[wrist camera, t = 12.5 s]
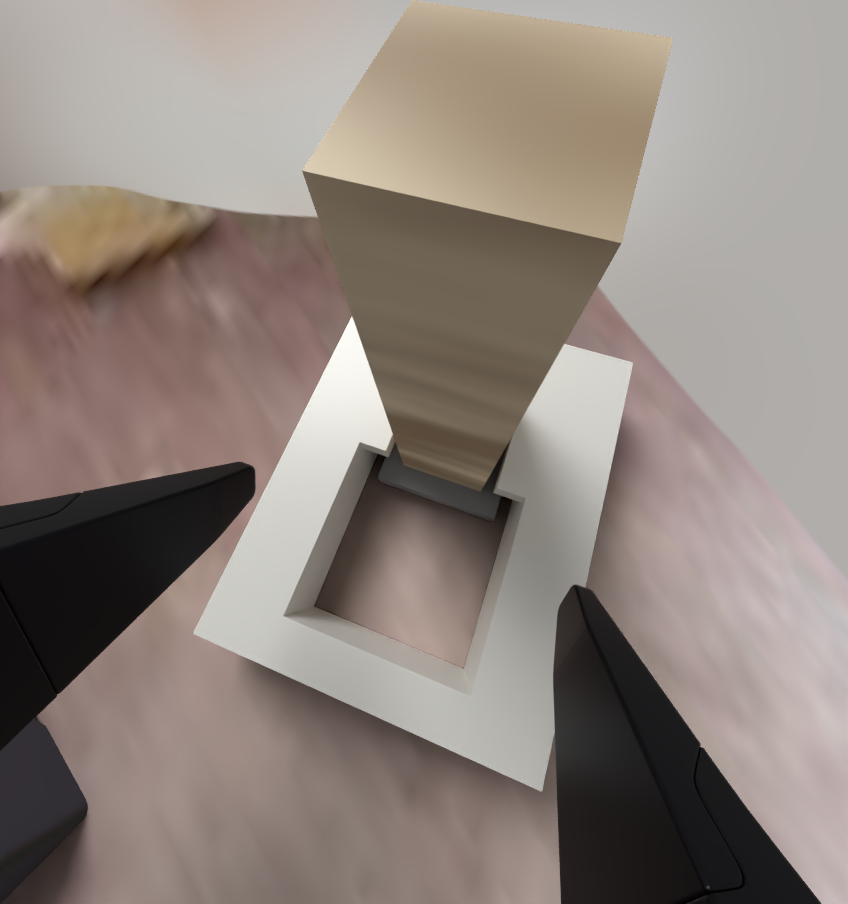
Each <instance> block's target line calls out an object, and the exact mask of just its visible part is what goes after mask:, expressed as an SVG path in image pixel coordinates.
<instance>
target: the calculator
mask: <svg viewBox="0 0 848 904" xmlns="http://www.w3.org/2000/svg"><path fill="white" fill-rule="evenodd" d="M87 809H88V805H87V802H86V799H85V797H84V795H83V793H82V792H81V790H80V788H79V786H78V784H77V782H76V781H75V779H74V777H73V775H72V773H71V771H70V770H69V768H68V766H67V764H66V762H65V760H64V759H63V757H62V755H61V753H60V751H59V749H58V748H57V746H56V744H55V742H54V740H53V738H52V736H51V735H50V733H49V731H48V729H47V728H46V726H45V725H43V724H41V723H39V722H38V721H36V719H35V718H34V719H33V720H32V721H31V722H30V723H29V724H28V725H27V726H26V727H25V728H24V729H23V730H22V731H21V732H20V733H19V734H18V735H17V736H16V737H15V738H14V739H13V740H12V741H11V742H10V743H9V744H8V745H6V746H5V747H4V748H3V749H2V750H1V751H0V903H1V902H2V901H3V900H4V899H5V898H6V897H7V896H8V895H9V894H10V893H11V892H12V891H13V890H14V889H15V888H16V887H17V886H18V885H19V884H20V883H21V882H22V881H23V880H24V879H25V878H26V877H27V876H28V875H29V874H30V873H31V872H32V871H33V870H34V869H35V868H36V867H37V866H38V865H39V864H40V863H41V862H42V861H43V860H44V859H45V858H46V857H47V856H48V855H49V854H50V853H51V852H52V851H53V850H54V849H55V848H56V847H57V846H58V845H59V844H60V843H61V842H62V841H63V840H64V839H65V838H66V837H67V836H68V835H69V834H70V833H71V832H72V831H73V830H74V829H75V828H76V827H77V826H78V824H79V823H80V822H81V821H82V820H83V819H84V817H85V816H86V813H87Z"/></svg>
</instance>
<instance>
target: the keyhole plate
mask: <svg viewBox="0 0 848 904" xmlns="http://www.w3.org/2000/svg"><path fill="white" fill-rule="evenodd" d="M632 366H633V363H632V362H629V361H625V360H621V359H618V358H614V357H610V356H607V355H603V354H599V353H596V352H592V351H588V350H585V349H581V348H577V347H574V346H570V345H566V344H564V345H563V347H562V349H561V351H560V352H559V354H558V356H557V358H556V359H555V361H554V363H553V365H552V366H551V368H550V370H549V372H548V374H547V375H546V377H545V379H544V381H543V382H542V384H541V386H540V388H539V389H538V391H537V393H536V395H535V396H534V398H533V400H532V402H531V404H530V405H529V407H528V409H527V411H526V412H525V414H524V416H523V418H522V419H521V421H520V423H519V425H518V426H517V428H516V430H515V432H514V434H513V435H512V437H511V439H510V441H509V442H508V446H507V449H506V452H505V455H504V459H503V462H502V465H501V468H500V472H499V475H498V478H497V481H496V485H495V488H494V491H493V493H495V494H498V495H500V496H503V497H506V498H509V499H512V504H511V507H510V511H509V514H508V518H507V521H506V525H505V528H504V532H503V535H502V538H501V542H500V545H499V549H498V552H497V556H496V559H495V563H494V566H493V570H492V573H491V576H490V580H489V583H488V587H487V590H486V594H485V597H484V601H483V604H482V608H481V611H480V614H479V618H478V621H477V625H476V628H475V632H474V635H473V639H472V642H471V646H470V649H469V653H468V656H467V659H466V663H465V666H464V669H463V668H460V667H458V666H456V665H453V664H451V663H448V662H446V661H444V660H441V659H439V658H436V657H434V656H432V655H429V654H427V653H424V652H422V651H420V650H417V649H415V648H412V647H410V646H408V645H405V644H403V643H400V642H398V641H396V640H393V639H391V638H389V637H386V636H384V635H381V634H379V633H377V632H374V631H372V630H369V629H367V628H365V627H362V626H360V625H357V624H355V623H353V622H350V621H348V620H345V619H343V618H341V617H338V616H336V615H333V614H331V613H329V612H326V611H324V610H321V609H319V608H317V607H314V605H315V602H316V600H317V597H318V595H319V593H320V590H321V588H322V586H323V583H324V581H325V578H326V576H327V574H328V571H329V569H330V566H331V564H332V562H333V559H334V557H335V554H336V552H337V550H338V547H339V545H340V543H341V540H342V538H343V535H344V533H345V531H346V528H347V526H348V523H349V521H350V519H351V516H352V514H353V511H354V509H355V507H356V504H357V502H358V500H359V497H360V495H361V492H362V490H363V488H364V485H365V483H366V480H367V478H368V476H369V473H370V471H371V469H372V466H373V464H374V461H375V459H376V457H377V454H380V455H383V456H386V457H389V456H390V453H391V451H392V448H393V446H394V444H395V439H394V436H393V433H392V430H391V427H390V424H389V422H388V419H387V416H386V413H385V410H384V407H383V404H382V401H381V398H380V395H379V392H378V390H377V387H376V384H375V381H374V378H373V375H372V372H371V369H370V366H369V363H368V361H367V358H366V355H365V352H364V349H363V346H362V343H361V340H360V337H359V334H358V331H357V329H356V326H355V323H354V320H353V317H351V319H350V321H349V323H348V325H347V327H346V329H345V331H344V333H343V335H342V337H341V339H340V341H339V343H338V345H337V347H336V349H335V351H334V353H333V355H332V357H331V359H330V361H329V363H328V365H327V367H326V369H325V371H324V373H323V375H322V377H321V379H320V381H319V383H318V385H317V387H316V389H315V391H314V393H313V395H312V397H311V399H310V401H309V403H308V405H307V407H306V409H305V411H304V413H303V415H302V417H301V419H300V421H299V423H298V425H297V427H296V429H295V431H294V433H293V435H292V437H291V439H290V441H289V443H288V445H287V447H286V449H285V451H284V453H283V455H282V457H281V459H280V461H279V463H278V465H277V467H276V469H275V471H274V473H273V475H272V477H271V479H270V481H269V483H268V485H267V487H266V489H265V491H264V493H263V495H262V497H261V499H260V501H259V503H258V505H257V507H256V509H255V511H254V513H253V515H252V517H251V519H250V521H249V523H248V525H247V527H246V529H245V531H244V533H243V535H242V537H241V539H240V541H239V543H238V545H237V547H236V549H235V551H234V553H233V555H232V557H231V559H230V561H229V563H228V565H227V567H226V569H225V571H224V573H223V575H222V577H221V579H220V581H219V583H218V585H217V587H216V589H215V591H214V593H213V595H212V597H211V599H210V601H209V603H208V605H207V607H206V609H205V611H204V613H203V615H202V617H201V619H200V621H199V623H198V624H197V626H196V628H195V630H194V632H193V634H195V635H197V636H199V637H201V638H204V639H206V640H208V641H210V642H212V643H215V644H217V645H219V646H221V647H224V648H226V649H228V650H230V651H232V652H235V653H237V654H239V655H241V656H243V657H246V658H248V659H250V660H252V661H254V662H257V663H259V664H261V665H263V666H265V667H268V668H270V669H272V670H274V671H276V672H279V673H281V674H283V675H285V676H287V677H290V678H292V679H294V680H296V681H298V682H301V683H303V684H305V685H307V686H309V687H312V688H314V689H316V690H318V691H320V692H323V693H325V694H327V695H329V696H331V697H334V698H336V699H338V700H340V701H342V702H345V703H347V704H349V705H351V706H354V707H356V708H358V709H360V710H362V711H365V712H367V713H369V714H371V715H373V716H376V717H378V718H380V719H382V720H384V721H387V722H389V723H391V724H393V725H395V726H398V727H400V728H402V729H404V730H406V731H409V732H411V733H413V734H415V735H417V736H420V737H422V738H424V739H426V740H428V741H431V742H433V743H435V744H437V745H439V746H442V747H444V748H446V749H448V750H450V751H453V752H455V753H457V754H459V755H461V756H464V757H466V758H468V759H470V760H473V761H475V762H477V763H479V764H481V765H484V766H486V767H488V768H490V769H492V770H495V771H497V772H499V773H501V774H503V775H506V776H508V777H510V778H512V779H514V780H517V781H519V782H521V783H523V784H525V785H528V786H530V787H532V788H534V789H536V790H539V791H541V792H542V789H543V785H544V780H545V775H546V771H547V766H548V761H549V756H550V752H551V747H552V742H553V738H554V733H555V723H554V696H553V665H554V652H555V639H556V626H557V613H558V609H559V606H560V604H561V602H562V601H563V599H564V597H565V596H566V594H567V593H568V591H569V589H570V588H571V586H573V585H575V584H577V585H580V586H583V587H586V582H587V578H588V573H589V568H590V564H591V559H592V554H593V549H594V545H595V540H596V535H597V531H598V526H599V521H600V517H601V512H602V507H603V502H604V498H605V493H606V488H607V484H608V479H609V474H610V470H611V465H612V460H613V455H614V451H615V446H616V441H617V437H618V432H619V427H620V423H621V418H622V413H623V408H624V404H625V399H626V394H627V390H628V385H629V380H630V375H631V371H632Z"/></svg>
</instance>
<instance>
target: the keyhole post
mask: <svg viewBox="0 0 848 904" xmlns="http://www.w3.org/2000/svg"><path fill="white" fill-rule="evenodd" d="M672 42H673V38H670V37H663V36H656V35H649V34H642V33H636V32H629V31H622V30H614V29H608V28H600V27H594V26H587V25H580V24H573V23H566V22H559V21H552V20H545V19H539V18H532V17H525V16H518V15H510V14H504V13H497V12H489V11H483V10H476V9H468V8H462V7H455V6H448V5H441V4H434V3H427V2H420V1H413V0H412V1H411V3H410V5H409V6H408V8H407V9H406V11H405V12H404V14H403V15H402V17H401V18H400V20H399V22H398V23H397V25H396V26H395V28H394V29H393V31H392V32H391V34H390V36H389V37H388V39H387V40H386V42H385V43H384V45H383V46H382V48H381V49H380V51H379V53H378V54H377V56H376V57H375V59H374V60H373V62H372V63H371V65H370V66H369V68H368V70H367V71H366V73H365V74H364V76H363V77H362V79H361V80H360V82H359V84H358V85H357V86H356V88H355V90H354V91H353V93H352V94H351V96H350V97H349V99H348V100H347V102H346V104H345V105H344V107H343V108H342V110H341V111H340V113H339V114H338V116H337V117H336V119H335V121H334V122H333V124H332V125H331V127H330V129H329V130H328V131H327V133H326V135H325V136H324V138H323V139H322V141H321V142H320V144H319V145H318V147H317V148H316V150H315V152H314V153H313V155H312V156H311V158H310V159H309V161H308V162H307V164H306V166H305V167H304V169H303V170H302V172H303V174H304V178H305V180H306V183H307V186H308V189H309V192H310V195H311V197H312V201H313V204H314V207H315V209H316V212H317V215H318V218H319V221H320V224H321V227H322V230H323V233H324V236H325V239H326V241H327V244H328V247H329V250H330V253H331V256H332V259H333V262H334V265H335V268H336V270H337V273H338V276H339V279H340V282H341V285H342V288H343V291H344V294H345V297H346V300H347V302H348V305H349V308H350V311H351V314H352V317H353V320H354V323H355V326H356V329H357V331H358V334H359V337H360V340H361V343H362V346H363V349H364V352H365V355H366V358H367V361H368V363H369V366H370V369H371V372H372V375H373V378H374V381H375V384H376V387H377V390H378V392H379V395H380V398H381V401H382V404H383V407H384V410H385V413H386V416H387V419H388V422H389V424H390V427H391V430H392V433H393V436H394V439H395V444H394V446H393V448H392V451H391V453H390V456H389V457H386V458H385V460H384V463H383V465H382V468H381V470H380V473H379V475H378V479H379V480H380V481H381V483H384V484H387V485H389V486H392V487H395V488H398V489H401V490H403V491H406V492H409V493H412V494H415V495H418V496H420V497H423V498H426V499H429V500H432V501H435V502H437V503H440V504H443V505H446V506H449V507H452V508H454V509H457V510H460V511H463V512H466V513H469V514H471V515H474V516H477V517H480V518H483V519H485V520H488V521H492V520H493V519H494V518H495V515H496V512H497V509H498V506H499V502H500V499H501V496H500V495H498V494H495V493H493V491H494V488H495V485H496V481H497V478H498V475H499V472H500V468H501V465H502V462H503V459H504V455H505V452H506V449H507V446H508V442H509V441H510V439H511V437H512V435H513V434H514V432H515V430H516V428H517V426H518V425H519V423H520V421H521V419H522V418H523V416H524V414H525V412H526V411H527V409H528V407H529V405H530V404H531V402H532V400H533V398H534V396H535V395H536V393H537V391H538V389H539V388H540V386H541V384H542V382H543V381H544V379H545V377H546V375H547V374H548V372H549V370H550V368H551V366H552V365H553V363H554V361H555V359H556V358H557V356H558V354H559V352H560V351H561V349H562V347H563V345H564V344H565V342H566V340H567V338H568V336H569V335H570V333H571V331H572V329H573V328H574V326H575V324H576V322H577V321H578V319H579V317H580V315H581V313H582V312H583V310H584V308H585V306H586V305H587V303H588V301H589V299H590V298H591V296H592V294H593V292H594V291H595V289H596V287H597V285H598V283H599V282H600V280H601V278H602V276H603V275H604V273H605V271H606V269H607V268H608V266H609V264H610V262H611V261H612V259H613V257H614V255H615V253H616V252H617V250H618V248H619V246H620V244H621V242H622V239H623V235H624V231H625V226H626V223H627V219H628V215H629V211H630V207H631V203H632V199H633V195H634V191H635V187H636V184H637V180H638V175H639V172H640V167H641V164H642V160H643V156H644V152H645V148H646V144H647V140H648V136H649V132H650V128H651V124H652V120H653V116H654V112H655V109H656V105H657V101H658V96H659V93H660V89H661V85H662V81H663V77H664V73H665V69H666V65H667V61H668V57H669V54H670V50H671V45H672Z"/></svg>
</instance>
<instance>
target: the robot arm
mask: <svg viewBox="0 0 848 904" xmlns="http://www.w3.org/2000/svg"><path fill="white" fill-rule="evenodd" d="M255 489H256V486H255V469H254V467H253V466H251V465H249V464H246V463H243V462H235V463H230V464H225V465H220V466H214V467H209V468H204V469H199V470H193V471H188V472H183V473H178V474H173V475H167V476H162V477H157V478H152V479H147V480H141V481H136V482H131V483H126V484H120V485H115V486H110V487H105V488H100V489H94V490H89V491H84V492H82V493H80V492H78V493H73V494H68V495H63V496H58V497H52V498H46V499H41V500H35V501H30V502H24V503H17V504H11V505H4V506H0V751H1V750H2V749H3V748H4V747H5V746H6V745H8V744H9V743H10V742H11V741H12V740H13V739H14V738H15V737H16V736H17V735H18V734H19V733H20V732H21V731H22V730H23V729H24V728H25V727H26V726H27V725H28V724H29V723H30V722H31V721H32V720H33V719H34V718H35V717H36V716H37V715H38V714H39V713H40V712H41V711H42V710H43V709H44V708H45V707H46V706H48V705H49V704H50V703H51V702H52V701H53V700H54V699H55V698H56V697H57V694H59V693H61V692H62V691H63V690H64V689H65V688H66V687H67V686H68V685H69V684H70V683H71V682H72V681H73V680H74V679H75V678H76V677H77V676H78V675H79V674H80V673H81V672H82V671H83V670H84V669H85V668H86V667H87V666H88V665H89V664H90V663H91V662H92V661H93V660H94V659H95V658H96V657H97V656H98V655H99V654H100V653H101V652H103V651H104V650H105V649H106V648H107V647H108V646H109V645H110V644H111V643H112V642H113V641H114V640H115V639H116V638H117V637H118V636H119V635H120V634H121V633H122V632H123V631H124V630H125V629H126V628H127V627H128V626H129V625H130V624H131V623H132V622H133V621H134V620H135V619H136V618H137V617H138V616H139V615H140V614H141V613H142V612H144V611H145V610H146V609H147V608H148V607H149V606H150V605H151V604H152V603H153V602H154V601H155V600H156V599H157V598H158V597H159V596H160V595H161V594H162V593H163V592H164V591H165V590H166V589H167V588H168V587H169V586H170V585H171V584H172V583H173V582H174V581H175V580H176V579H177V578H178V577H179V576H180V575H181V574H182V573H183V572H185V571H186V570H187V569H188V568H189V567H190V566H191V565H192V564H193V563H194V562H195V561H196V560H197V559H198V558H199V557H200V556H201V555H202V554H203V553H204V552H205V551H206V550H207V549H208V548H209V547H210V546H211V545H212V544H213V543H214V542H215V541H216V540H217V539H218V538H219V537H220V536H221V535H222V533H223V532H224V531H225V530H226V529H227V528H228V526H229V525H230V524H231V523H232V522H233V520H234V519H235V518H236V517H237V516H238V514H239V513H240V512H241V511H242V510H243V508H244V507H245V506H246V505H247V504H248V503H249V501H250V500H251V499H252V498H253V496H254V494H255ZM553 696H554V723H555V750H556V777H557V805H558V832H559V859H560V886H561V904H821V902H820V901H819V900H818V899H817V897H816V896H815V895H814V894H813V892H812V891H811V890H810V888H809V887H808V886H807V885H806V883H805V882H804V881H803V880H802V878H801V877H800V876H799V874H798V873H797V872H796V871H795V869H794V868H793V867H792V866H791V864H790V863H789V862H788V861H787V859H786V858H785V857H784V855H783V854H782V853H781V852H780V850H779V849H778V848H777V846H776V845H775V844H774V843H773V841H772V840H771V839H770V837H769V836H768V835H767V833H766V832H765V831H764V830H763V828H762V827H761V826H760V824H759V823H758V822H757V820H756V819H755V818H754V817H753V815H752V814H751V813H750V811H749V810H748V809H747V807H746V806H745V805H744V803H743V802H742V801H741V799H740V798H739V796H738V795H737V794H736V792H735V791H734V790H733V788H732V787H731V785H730V784H729V783H728V781H727V780H726V779H725V777H724V776H723V775H722V773H721V772H720V770H719V769H718V768H717V766H716V765H715V763H714V762H713V761H712V759H711V758H710V756H709V755H708V753H707V752H706V751H705V749H704V748H702V747H700V742H699V741H698V740H697V738H696V737H695V735H694V734H693V733H692V731H691V730H690V728H689V727H688V725H687V724H686V723H685V721H684V720H683V718H682V717H681V716H680V714H679V713H678V711H677V710H676V709H675V707H674V706H673V704H672V703H671V701H670V700H669V699H668V697H667V696H666V694H665V693H664V692H663V690H662V689H661V687H660V686H659V685H658V683H657V682H656V680H655V679H654V677H653V676H652V675H651V673H650V672H649V670H648V669H647V668H646V666H645V665H644V663H643V662H642V661H641V659H640V658H639V656H638V655H637V653H636V652H635V651H634V649H633V648H632V646H631V645H630V644H629V642H628V641H627V639H626V638H625V637H624V635H623V634H622V632H621V631H620V629H619V628H618V627H617V625H616V624H615V622H614V621H613V620H612V618H611V617H610V615H609V614H608V613H607V611H606V610H605V608H604V607H603V606H602V604H601V603H600V601H599V600H598V598H597V597H596V596H595V594H594V593H593V592H592V591H591V590H590V589H588V588H585V587H583V586H580V585H577V584H575V585H573V586H571V588H570V589H569V591H568V593H567V594H566V596H565V597H564V599H563V601H562V602H561V604H560V606H559V609H558V613H557V626H556V639H555V652H554V665H553Z"/></svg>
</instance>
